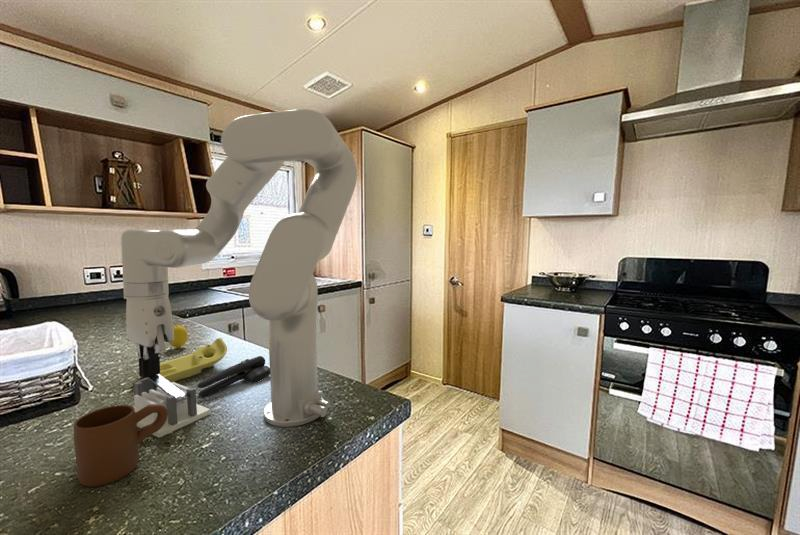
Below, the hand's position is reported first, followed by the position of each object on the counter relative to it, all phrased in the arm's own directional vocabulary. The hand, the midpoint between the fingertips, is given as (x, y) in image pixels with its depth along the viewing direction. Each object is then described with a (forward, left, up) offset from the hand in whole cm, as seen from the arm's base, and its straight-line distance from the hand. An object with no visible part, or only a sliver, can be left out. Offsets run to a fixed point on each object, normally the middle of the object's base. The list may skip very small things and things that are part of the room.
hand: (149, 374), depth 74 cm
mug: (-16, +11, -8) cm, 21 cm away
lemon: (+39, -26, -8) cm, 47 cm away
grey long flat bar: (-4, -1, -2) cm, 5 cm away
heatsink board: (-4, -1, -8) cm, 9 cm away
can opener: (-3, -17, -9) cm, 20 cm away
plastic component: (+15, -15, -9) cm, 23 cm away
